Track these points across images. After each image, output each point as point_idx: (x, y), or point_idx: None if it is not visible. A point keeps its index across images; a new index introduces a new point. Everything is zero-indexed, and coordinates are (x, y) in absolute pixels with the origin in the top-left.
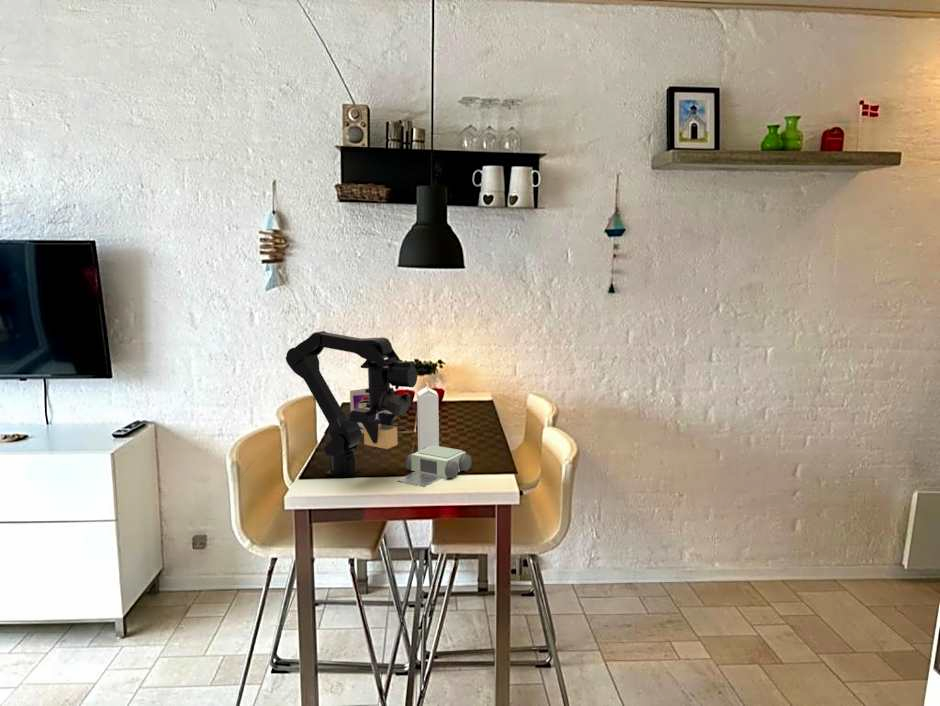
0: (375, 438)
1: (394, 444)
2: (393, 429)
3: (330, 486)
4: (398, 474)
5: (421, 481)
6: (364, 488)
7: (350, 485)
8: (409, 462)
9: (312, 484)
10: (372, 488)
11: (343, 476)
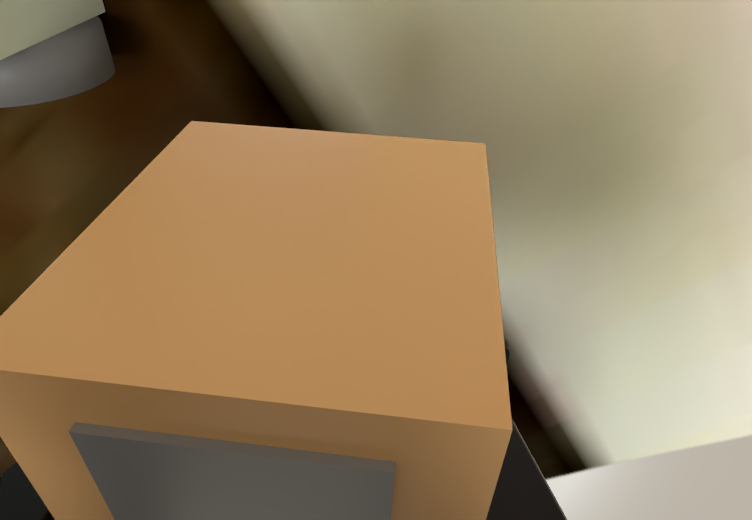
0: (514, 429)
1: (267, 138)
2: (154, 357)
3: (678, 323)
4: (229, 70)
5: None
6: (655, 108)
7: (619, 235)
8: (76, 40)
9: (671, 409)
10: (635, 47)
11: (505, 345)
